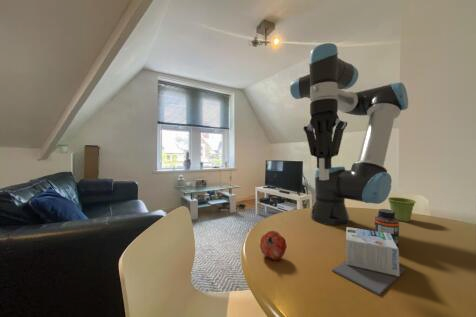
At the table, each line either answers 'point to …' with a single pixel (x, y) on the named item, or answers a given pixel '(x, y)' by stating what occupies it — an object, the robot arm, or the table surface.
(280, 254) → the red round fruit
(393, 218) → the supplement bottle
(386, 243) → the light bulb box
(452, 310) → the table surface
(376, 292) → the mat
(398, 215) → the plant pot
